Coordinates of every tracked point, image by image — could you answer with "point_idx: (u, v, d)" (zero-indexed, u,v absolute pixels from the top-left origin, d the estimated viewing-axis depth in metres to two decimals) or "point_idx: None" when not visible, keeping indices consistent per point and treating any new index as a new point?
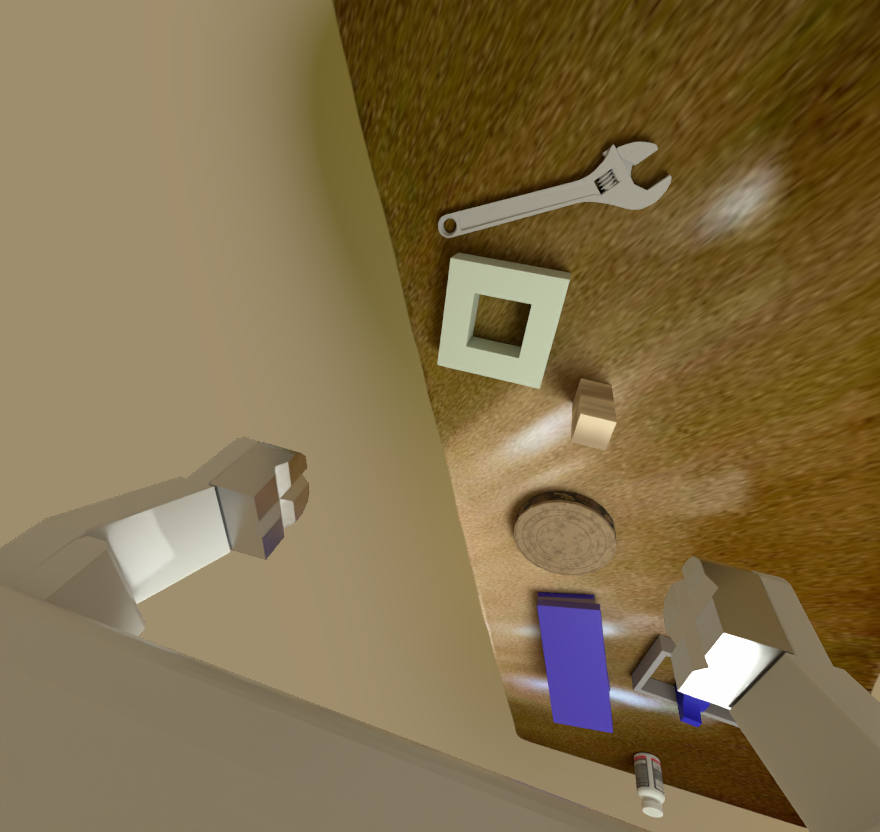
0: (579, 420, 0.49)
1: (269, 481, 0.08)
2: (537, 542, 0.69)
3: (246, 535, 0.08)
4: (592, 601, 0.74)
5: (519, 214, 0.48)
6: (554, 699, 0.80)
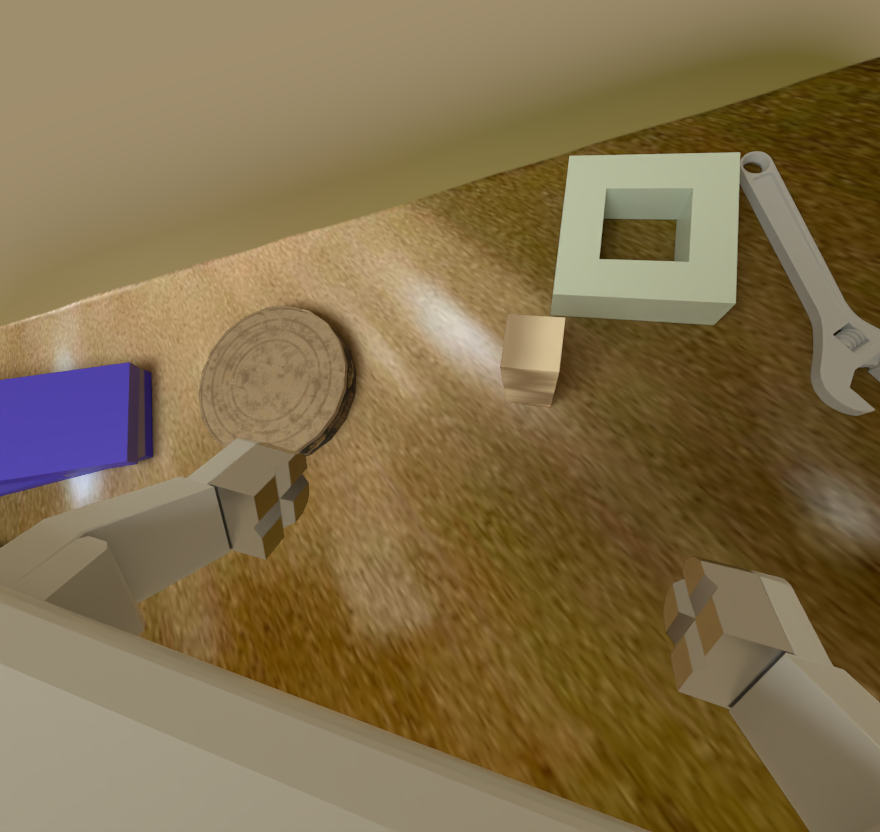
0: (551, 318, 0.29)
1: (269, 481, 0.08)
2: (261, 342, 0.42)
3: (247, 535, 0.08)
4: (141, 452, 0.44)
5: (787, 244, 0.36)
6: None
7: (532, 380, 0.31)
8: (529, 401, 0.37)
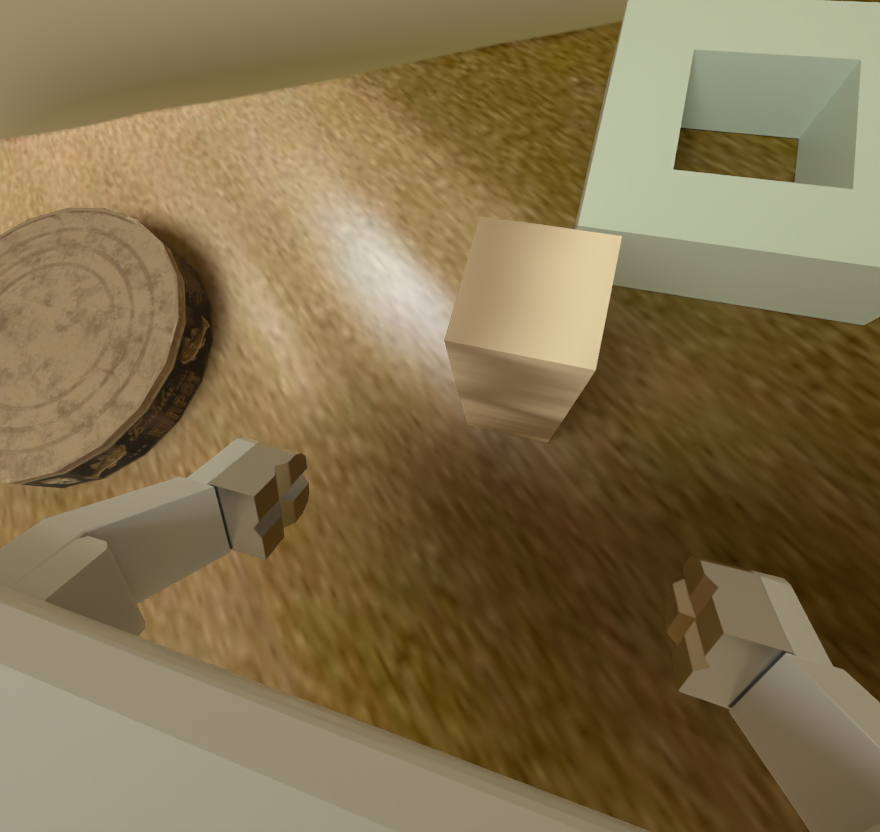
0: (586, 235, 0.12)
1: (269, 481, 0.08)
2: (43, 266, 0.23)
3: (246, 535, 0.08)
4: None
5: None
6: None
7: (522, 387, 0.13)
8: (509, 428, 0.19)
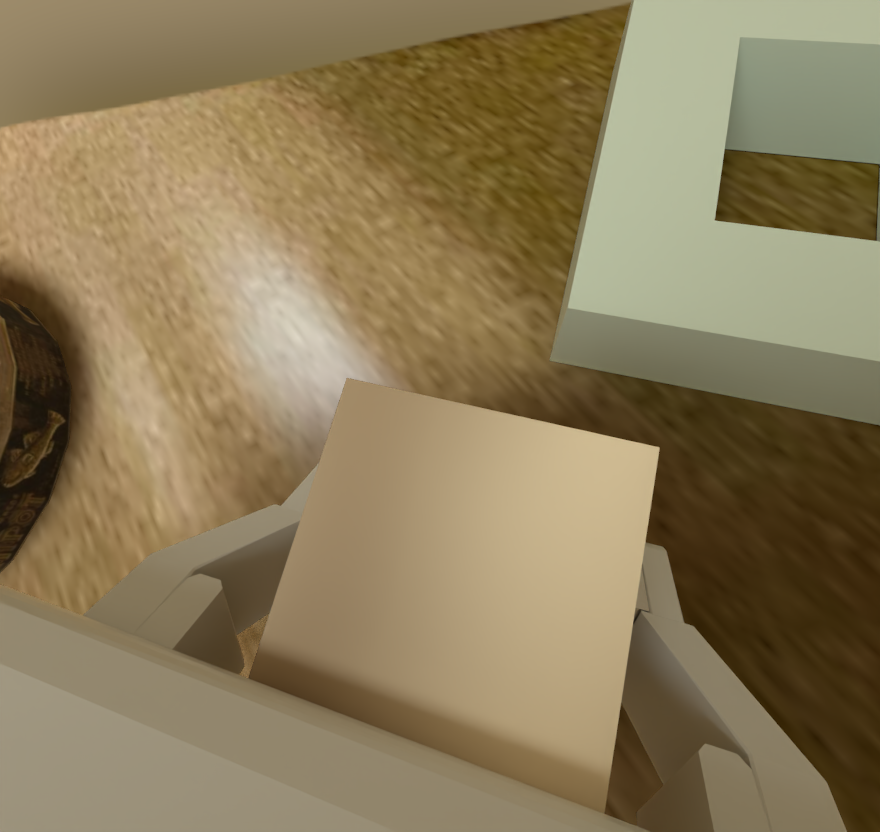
0: (577, 439, 0.05)
1: None
2: None
3: None
4: None
5: None
6: None
7: None
8: None
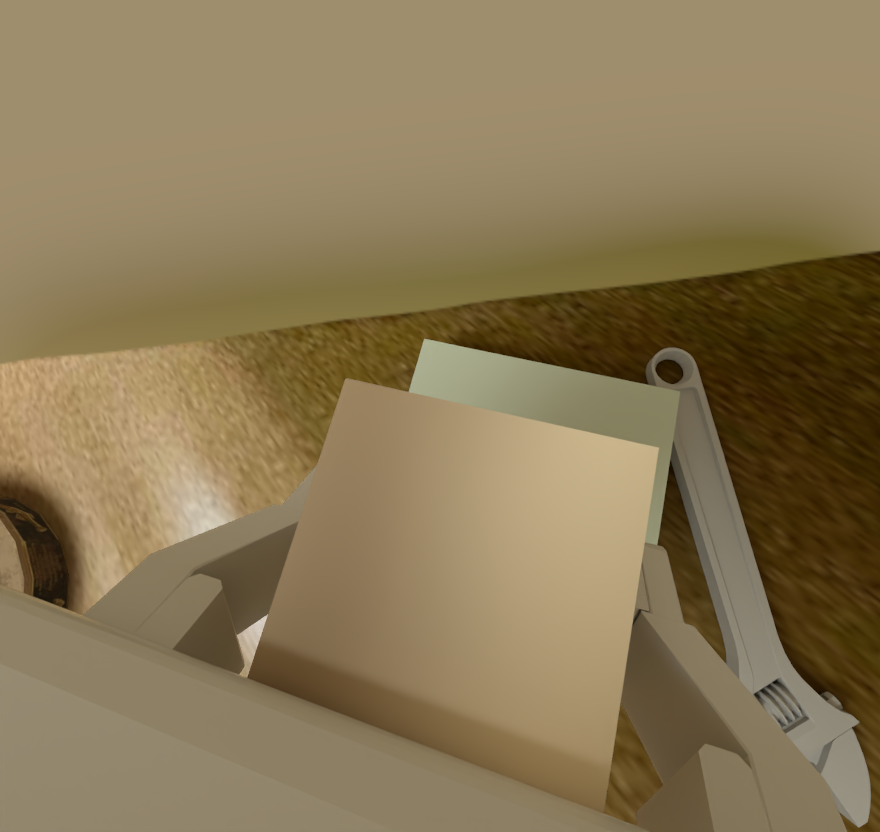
0: (577, 439, 0.05)
1: None
2: None
3: None
4: None
5: (703, 513, 0.23)
6: None
7: None
8: None
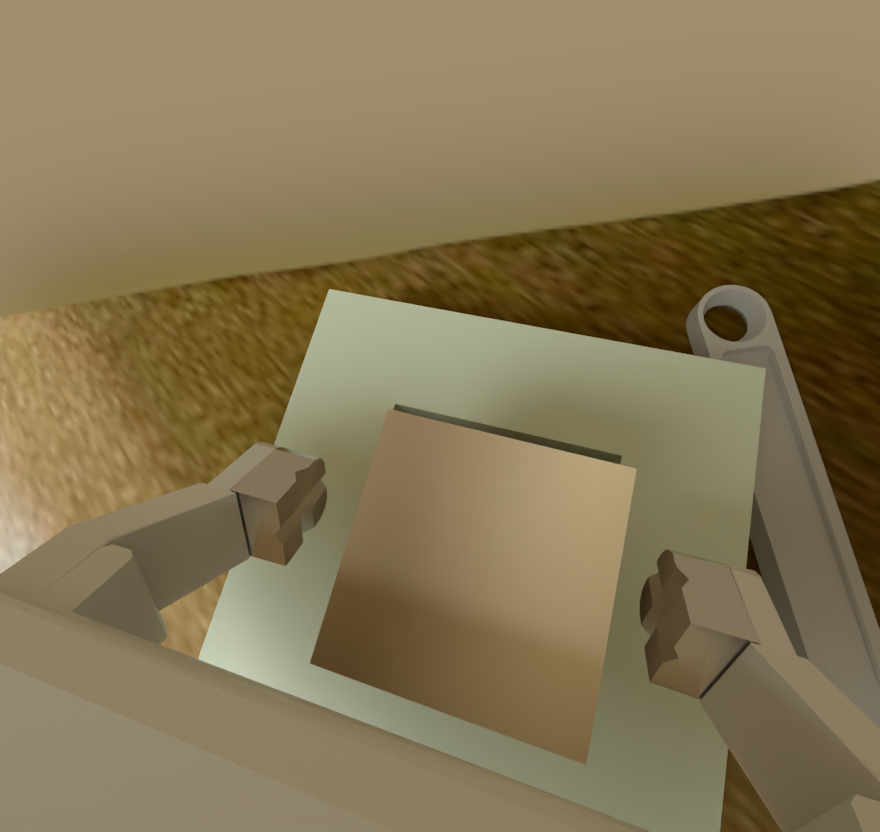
0: (573, 461, 0.06)
1: (290, 487, 0.08)
2: None
3: (267, 541, 0.08)
4: None
5: (786, 553, 0.14)
6: None
7: None
8: None
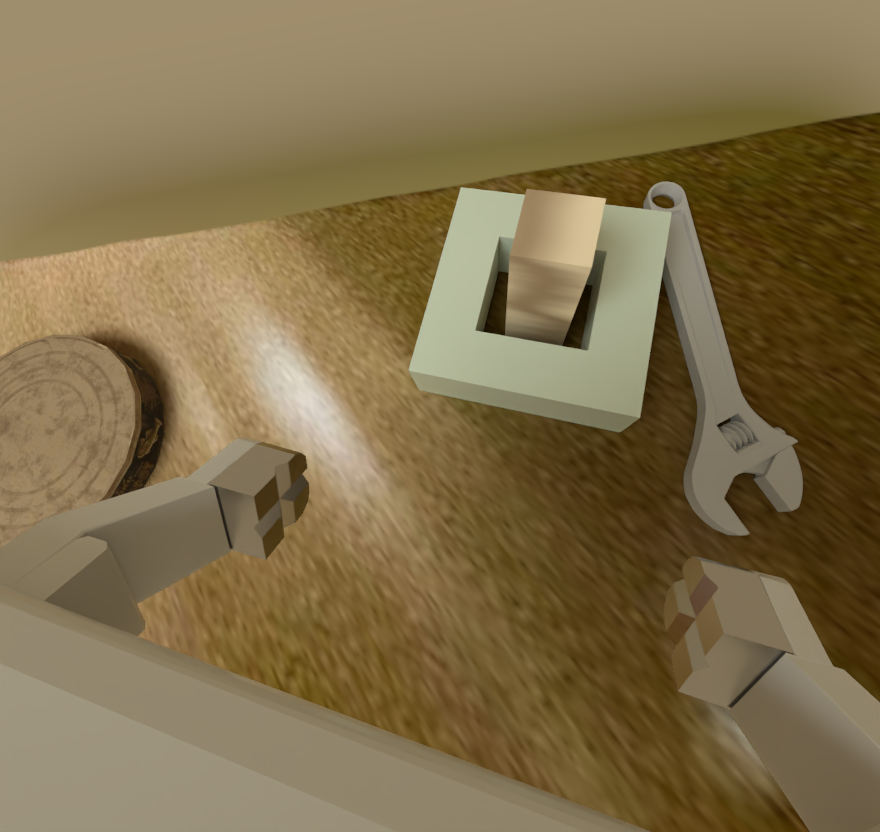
0: (586, 198, 0.21)
1: (269, 481, 0.08)
2: (36, 381, 0.31)
3: (247, 535, 0.08)
4: None
5: (684, 301, 0.29)
6: None
7: (549, 290, 0.23)
8: (535, 337, 0.29)
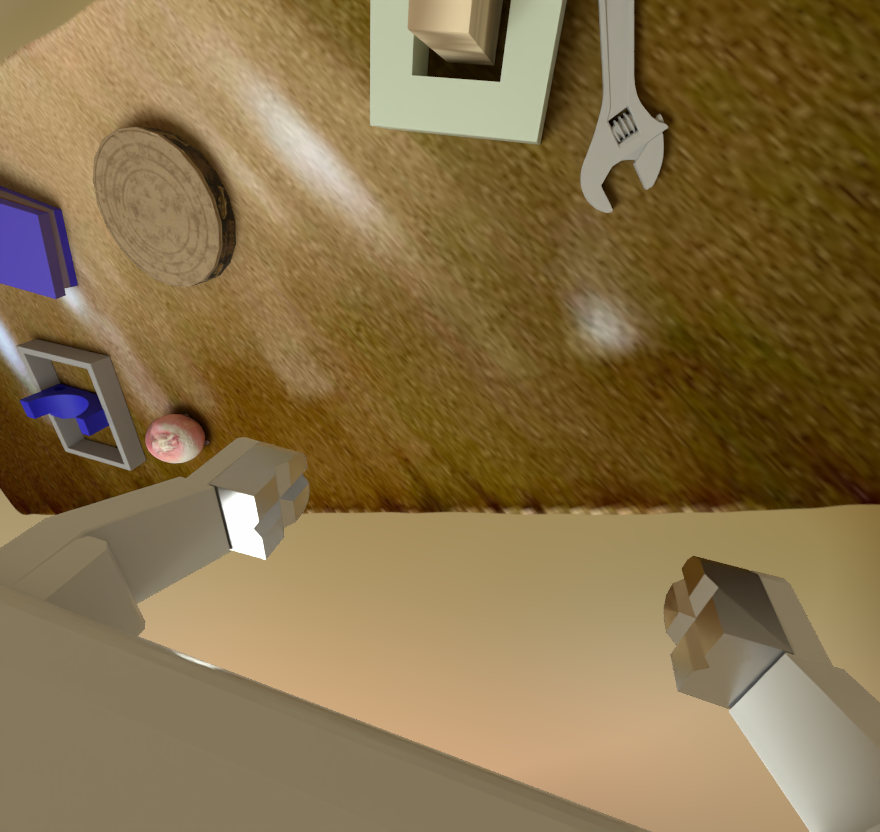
0: None
1: (269, 481, 0.08)
2: (131, 172, 0.45)
3: (247, 535, 0.08)
4: (66, 285, 0.57)
5: None
6: None
7: (452, 41, 0.28)
8: (468, 60, 0.34)
